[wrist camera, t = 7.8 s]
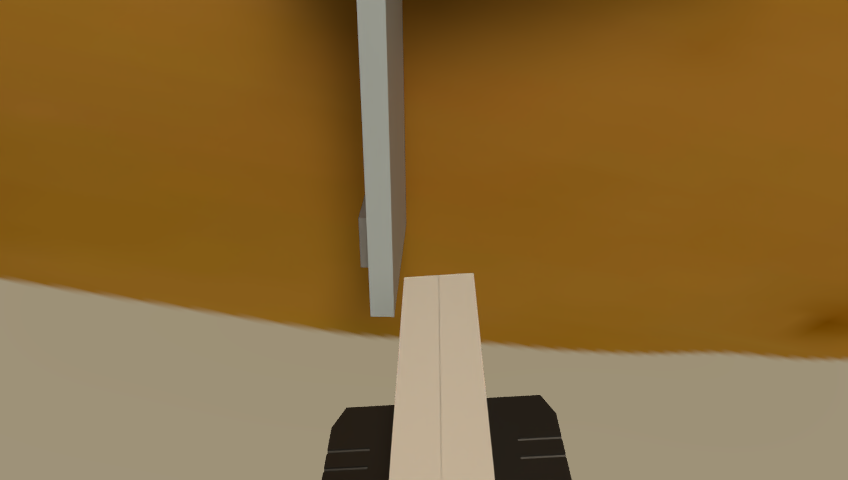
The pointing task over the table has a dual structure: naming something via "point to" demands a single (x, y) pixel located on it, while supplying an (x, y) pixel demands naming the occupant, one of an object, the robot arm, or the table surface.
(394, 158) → the door
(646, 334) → the table surface
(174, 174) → the table surface
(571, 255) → the table surface
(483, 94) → the table surface
